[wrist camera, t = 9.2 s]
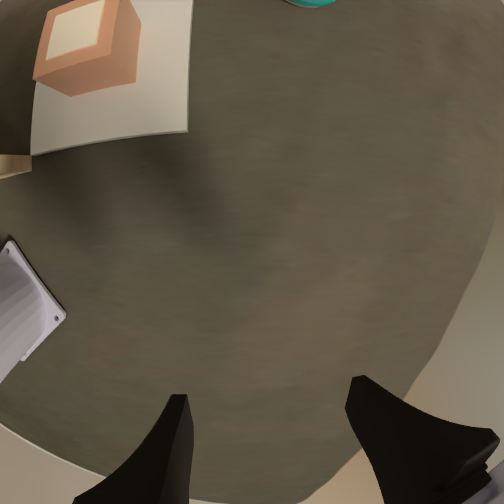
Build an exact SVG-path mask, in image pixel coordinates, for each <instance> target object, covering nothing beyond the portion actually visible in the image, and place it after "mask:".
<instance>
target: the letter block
mask: <svg viewBox="0 0 504 504" xmlns="http://www.w3.org/2000/svg"><path fill="white" fill-rule="evenodd" d="M140 31H141V21H140V19H139V17H138V15H137V13H136V11H135V9H134V7H133V5H132V3H131V1H130V0H75V1H72V2H70V3H67V4H64V5H62V6H59V7H57V8H55V9H52V10H50V11H48V13H47V17H46V20H45V24H44V27H43V31H42V35H41V39H40V43H39V47H38V52H37V57H36V62H35V67H34V73H33V80H35V81H37V82H40V83H42V84H44V85H46V86H48V87H50V88H53V89H55V90H57V91H59V92H61V93H63V94H65V95H67V96H69V97H72V96H76V95H80V94H84V93H88V92H92V91H96V90H100V89H105V88H109V87H114V86H119V85H125V84H130V83H136V73H137V60H138V49H139V39H140Z"/></svg>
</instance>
